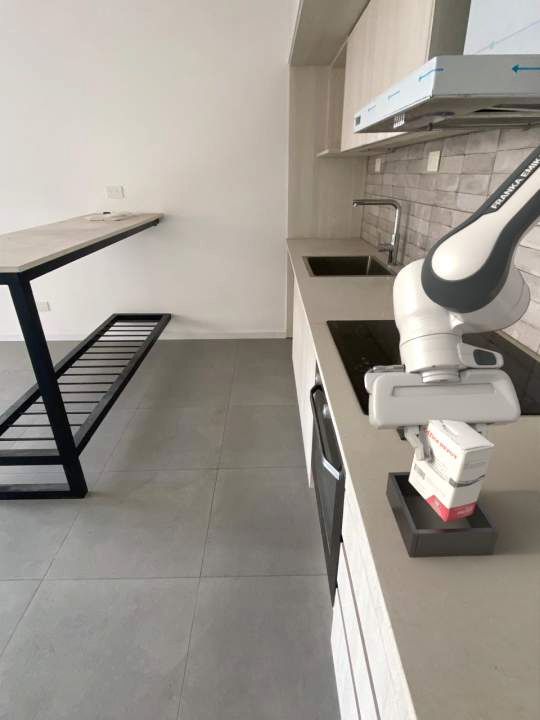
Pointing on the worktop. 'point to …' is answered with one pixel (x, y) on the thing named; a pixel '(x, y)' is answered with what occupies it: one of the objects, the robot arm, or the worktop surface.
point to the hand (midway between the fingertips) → (450, 459)
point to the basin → (439, 540)
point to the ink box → (451, 467)
